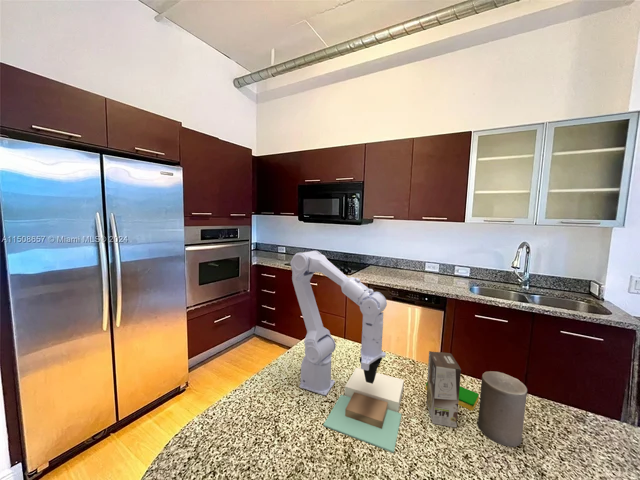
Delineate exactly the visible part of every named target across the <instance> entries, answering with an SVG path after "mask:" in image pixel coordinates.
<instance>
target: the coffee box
mask: <svg viewBox="0 0 640 480" xmlns="http://www.w3.org/2000/svg"><path fill="white" fill-rule="evenodd" d="M427 365H428V366H427V381H426V383H427V391H426V406H427V409H428V412H429V415H430V418H431V419H430V420H431V422H432V424H434V425H441V426H446V427H452V428H457V427H458V418H459V417H458V415H459V414H458V413H459V405H458V403H459V390H460V386H461V376H462V375H461V373H462V369H461V367H460V365H459V363H458V362H457V361H456V359H455V357H454V356H453V354H452V353H449V352H441V351H428V364H427Z"/></svg>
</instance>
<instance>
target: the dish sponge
mask: <svg viewBox="0 0 640 480" xmlns="http://www.w3.org/2000/svg"><path fill="white" fill-rule="evenodd" d="M424 389H425V391H426V392H427V382H425V388H424ZM479 400H480V394H479V393H478V392H475V391H474V390H473V391H472V389H471V390H470V389H468V388H465V387H464V386H461V385H460V390H459V403H458V406H460V407H462V408H465V409H467V410H469V411H472V412H473V411H475V408H476V406H477V404H478V401H479Z"/></svg>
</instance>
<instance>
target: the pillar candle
mask: <svg viewBox="0 0 640 480" xmlns="http://www.w3.org/2000/svg"><path fill="white" fill-rule="evenodd" d="M527 394H528V388H527V386H526V385H525V384H524V383H523V382H522V381H520V380H519V379H518V378H516V377H513V376H511V375H509V374H506V373H504V372H500V371H491V370H490V371H485V372H484V373H482V375H481V384H480V394H479V405H478V406H479V407H478V420H477V427H478V428H479V430H480V432H482V434H483V435H484V436H486V437H487V438H488V439H489V440H491V441H493V442H494V443H496V444H500V445H503V446H504V447H505V446H506V447H512V448H513V447H518V446H520V445H521V444H522V441H523V440H522V439H523V432H524V431H523V430H524V423H525V413H526V403H527Z"/></svg>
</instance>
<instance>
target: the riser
mask: <svg viewBox="0 0 640 480" xmlns="http://www.w3.org/2000/svg"><path fill="white" fill-rule="evenodd" d="M404 383H405V379H402V378H398V377H394V376H390V375H388V374H383V373H379V372H376V376H375V380H374V382H373V384H372V383H368V382H366V380H365V375H364V370H363V369H361V367H355V369H354V370H353V372H352V374H351V376H350V377H349V379H348V381H347V383H346V384H345V385H344V396H347V397H350V398H351V397H352V395H353V394H354V392H355V393H358V394H362V395H365V396H368V397H371V398H375V399H378V400H381V401H385V402H388V410H392V411H395V412H398V413H399V410H400V407H401V400H402V397H403V393H404V385H405V384H404Z"/></svg>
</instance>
